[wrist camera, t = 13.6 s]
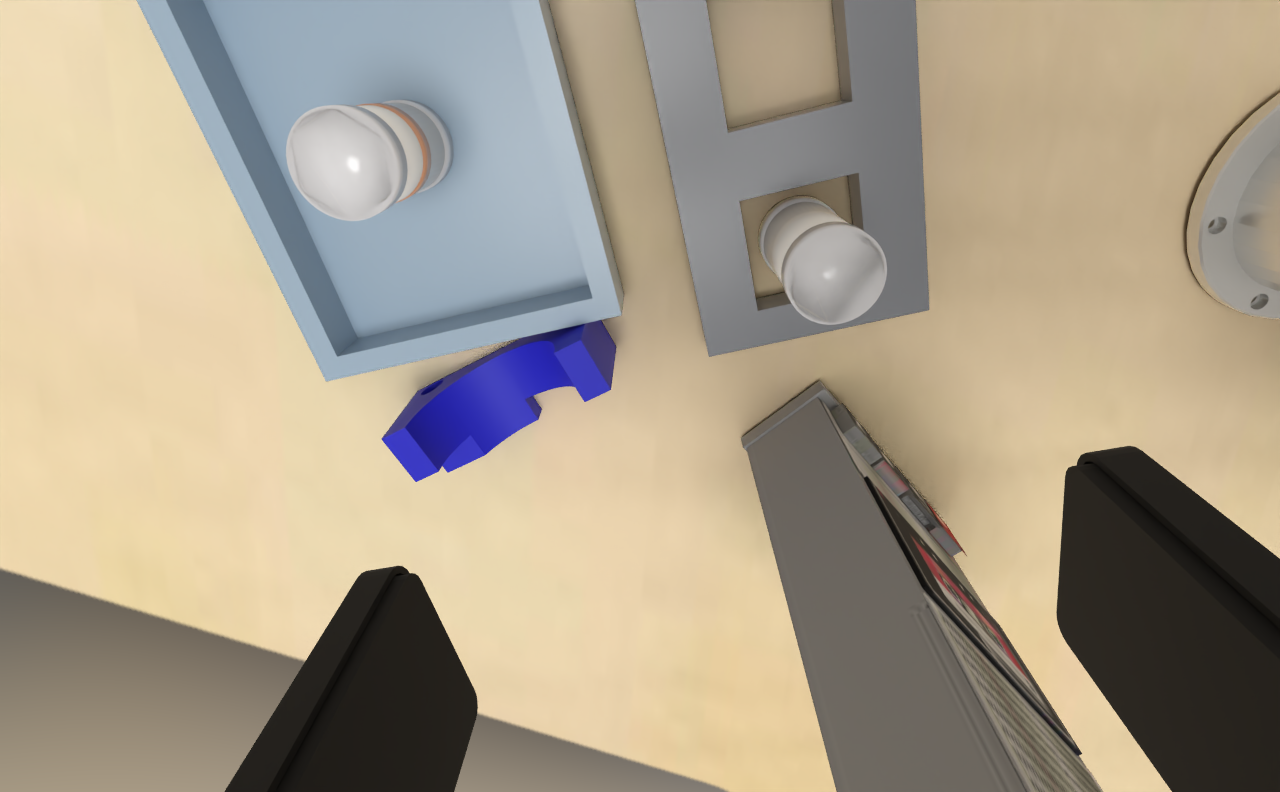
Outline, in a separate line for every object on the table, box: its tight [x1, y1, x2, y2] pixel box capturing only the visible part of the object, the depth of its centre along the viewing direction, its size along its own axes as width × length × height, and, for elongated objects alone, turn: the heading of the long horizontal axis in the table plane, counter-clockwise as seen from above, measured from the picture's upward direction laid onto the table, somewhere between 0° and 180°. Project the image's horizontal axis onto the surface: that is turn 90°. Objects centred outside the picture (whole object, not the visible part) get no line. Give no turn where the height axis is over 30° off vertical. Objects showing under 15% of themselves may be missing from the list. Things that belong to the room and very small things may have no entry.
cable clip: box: [382, 320, 616, 482], centre depth 36 cm, size 12×4×6 cm, turn 118°
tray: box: [137, 0, 624, 381], centre depth 31 cm, size 16×20×4 cm
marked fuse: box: [286, 100, 454, 221], centre depth 28 cm, size 4×4×8 cm
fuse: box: [758, 196, 887, 325], centre depth 31 cm, size 4×4×8 cm
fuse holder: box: [635, 0, 929, 357], centre depth 30 cm, size 12×28×2 cm, turn 13°
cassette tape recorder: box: [741, 380, 1103, 792], centre depth 30 cm, size 14×6×25 cm, turn 42°
